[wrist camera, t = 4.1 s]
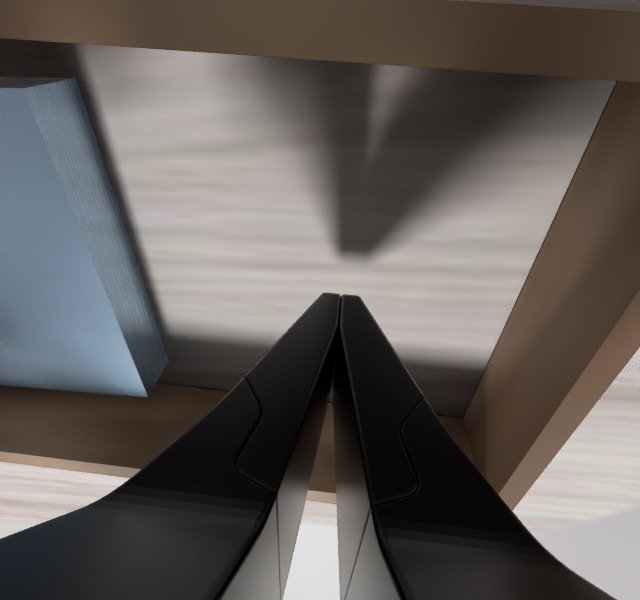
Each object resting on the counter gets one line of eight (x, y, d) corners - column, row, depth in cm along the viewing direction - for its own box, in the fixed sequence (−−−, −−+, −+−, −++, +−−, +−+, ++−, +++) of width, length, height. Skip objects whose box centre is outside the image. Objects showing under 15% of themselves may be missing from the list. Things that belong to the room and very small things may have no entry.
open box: (683, 24, 6) (889, 26, 4) (476, 430, 13) (501, 524, 10) (-355, -40, 7) (-732, -71, 5) (-40, 371, 14) (-126, 445, 11)
